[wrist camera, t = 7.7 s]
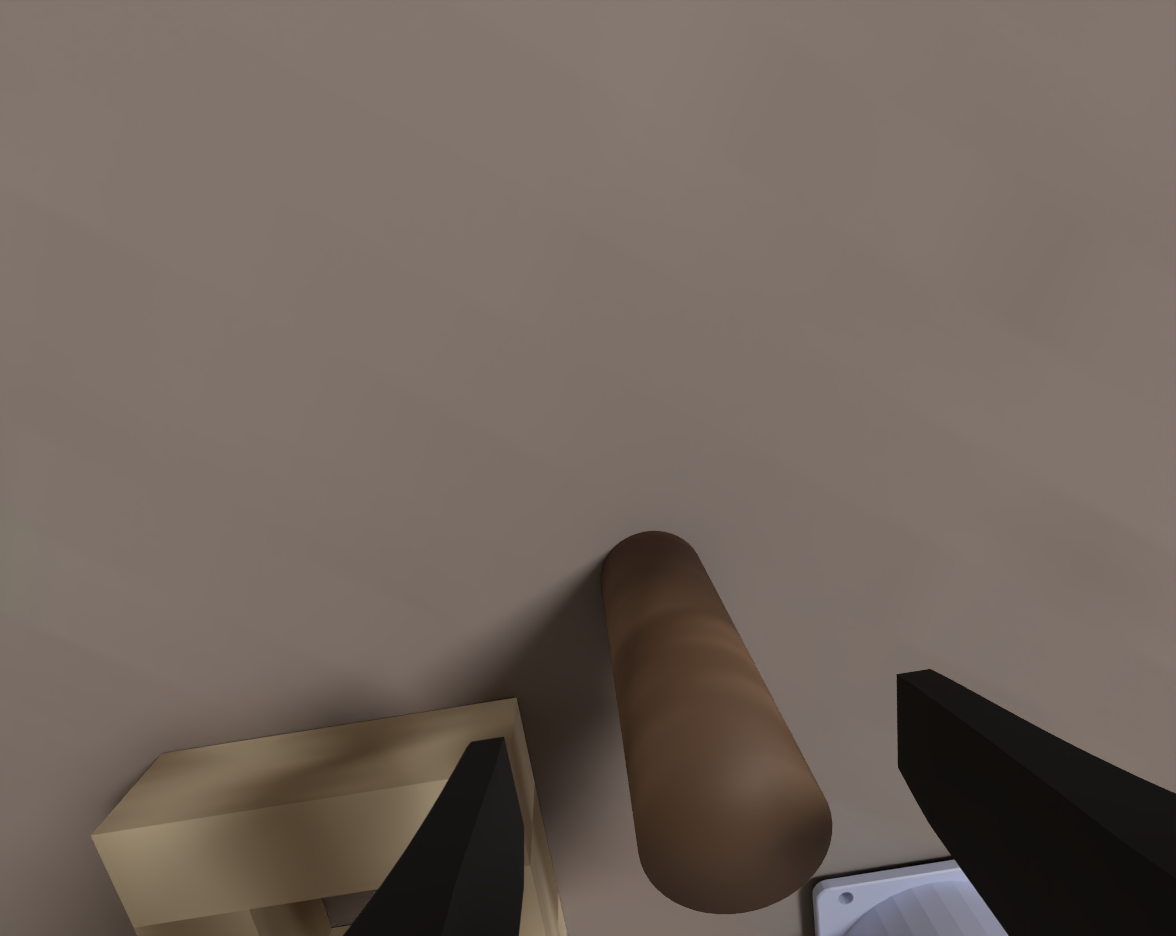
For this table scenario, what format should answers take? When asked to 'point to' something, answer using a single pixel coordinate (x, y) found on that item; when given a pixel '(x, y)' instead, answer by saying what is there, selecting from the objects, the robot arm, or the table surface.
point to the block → (303, 824)
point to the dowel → (704, 740)
